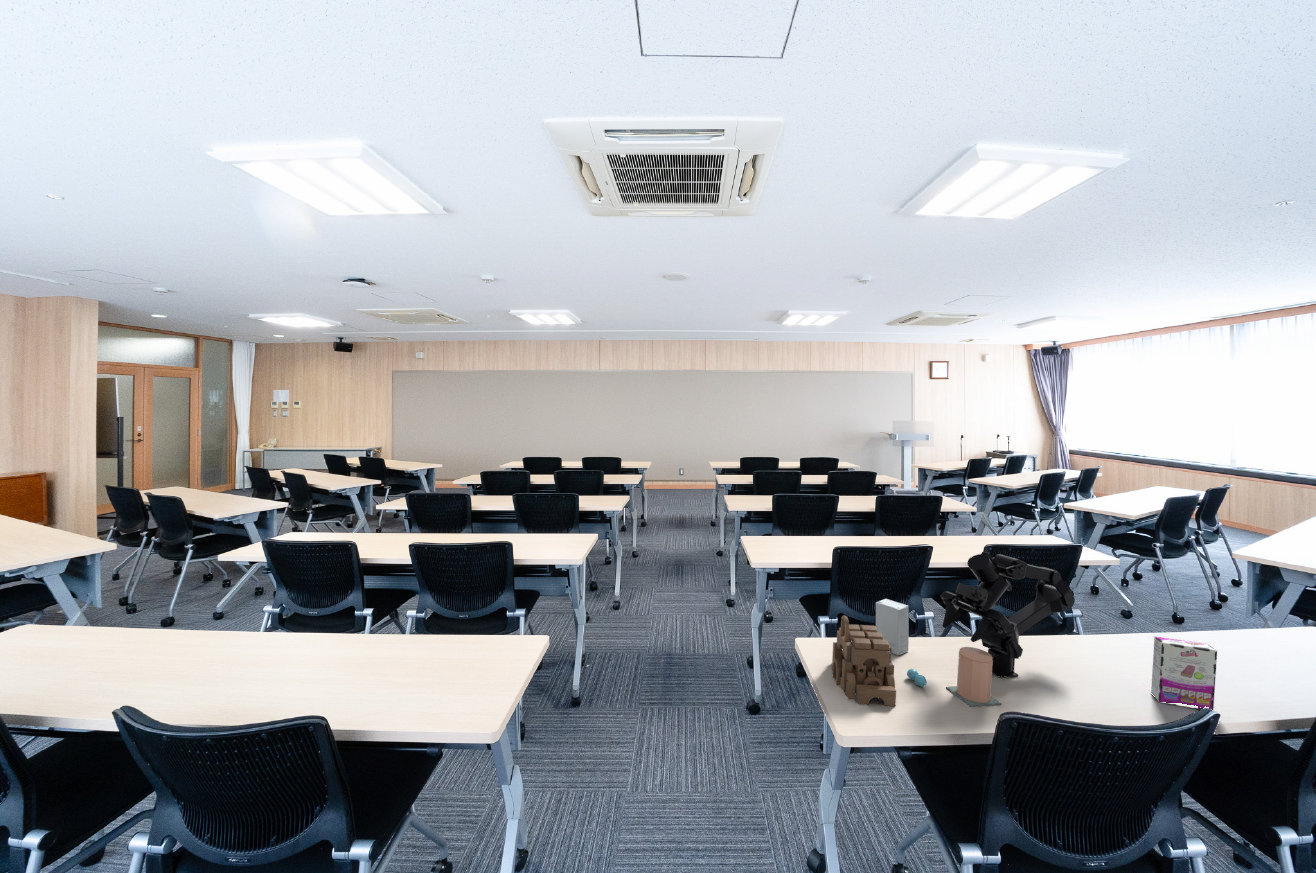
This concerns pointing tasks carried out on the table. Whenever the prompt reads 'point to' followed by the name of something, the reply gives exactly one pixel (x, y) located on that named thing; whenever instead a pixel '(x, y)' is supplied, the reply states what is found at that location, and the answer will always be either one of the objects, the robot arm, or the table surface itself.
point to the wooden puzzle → (863, 664)
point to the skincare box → (893, 624)
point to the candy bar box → (1184, 672)
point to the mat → (972, 703)
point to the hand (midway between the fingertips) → (957, 633)
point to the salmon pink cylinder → (974, 674)
